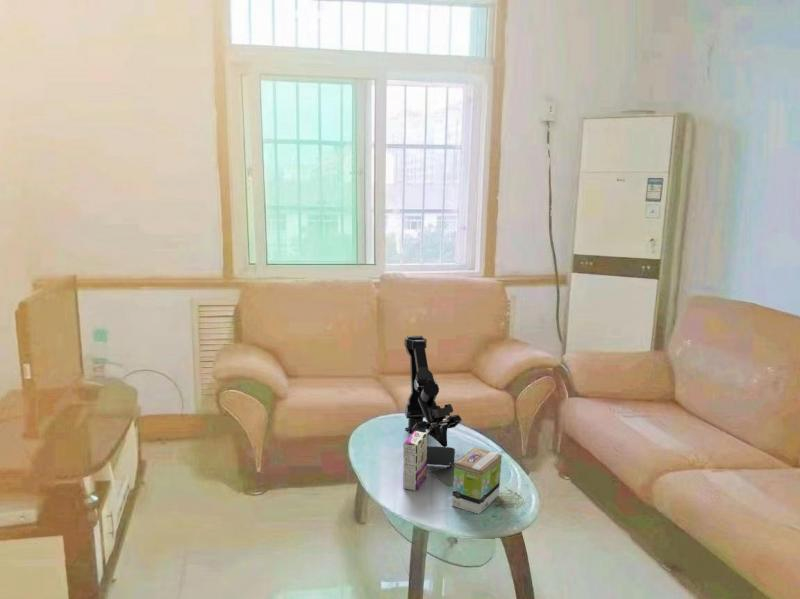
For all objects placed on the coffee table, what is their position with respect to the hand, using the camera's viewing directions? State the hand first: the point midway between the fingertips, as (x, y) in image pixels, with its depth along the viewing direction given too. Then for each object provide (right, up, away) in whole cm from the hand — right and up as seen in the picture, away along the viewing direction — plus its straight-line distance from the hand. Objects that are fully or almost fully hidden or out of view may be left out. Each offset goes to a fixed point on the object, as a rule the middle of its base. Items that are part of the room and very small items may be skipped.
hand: (445, 446), depth 221 cm
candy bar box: (-11, -10, -12) cm, 19 cm away
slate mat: (+4, -8, -5) cm, 11 cm away
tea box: (+8, -12, -23) cm, 27 cm away
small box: (-2, -4, +2) cm, 5 cm away
